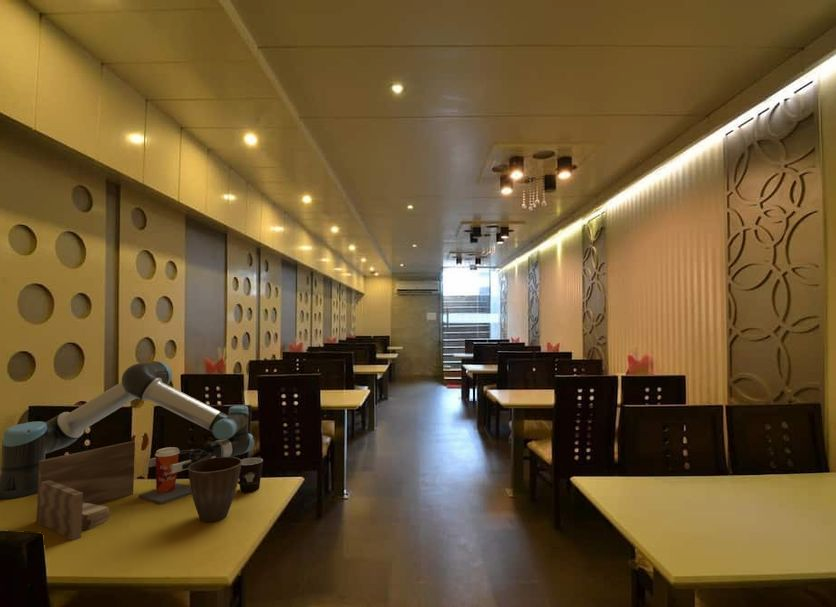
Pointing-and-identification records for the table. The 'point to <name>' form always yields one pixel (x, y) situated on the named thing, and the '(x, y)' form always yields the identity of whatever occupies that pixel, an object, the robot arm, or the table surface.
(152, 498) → the rubber mat
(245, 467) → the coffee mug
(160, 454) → the paper cup
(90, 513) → the offcut stack
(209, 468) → the plant pot
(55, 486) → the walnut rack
